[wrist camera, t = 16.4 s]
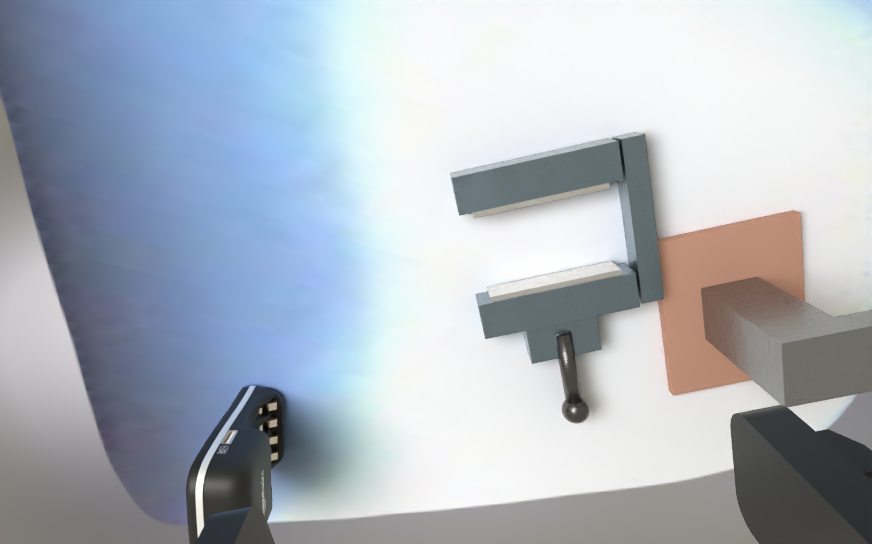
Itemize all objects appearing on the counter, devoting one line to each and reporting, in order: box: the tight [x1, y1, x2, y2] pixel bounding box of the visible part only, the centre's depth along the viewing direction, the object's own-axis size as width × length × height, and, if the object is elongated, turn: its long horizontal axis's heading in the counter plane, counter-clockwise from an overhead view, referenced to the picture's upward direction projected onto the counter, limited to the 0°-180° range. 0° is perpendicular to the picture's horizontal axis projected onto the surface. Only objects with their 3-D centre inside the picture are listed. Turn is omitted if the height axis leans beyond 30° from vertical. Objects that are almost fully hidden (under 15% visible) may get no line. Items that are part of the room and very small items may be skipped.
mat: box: [657, 210, 805, 395], centre depth 43 cm, size 12×10×1 cm
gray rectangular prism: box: [701, 277, 872, 407], centre depth 37 cm, size 4×7×10 cm, turn 102°
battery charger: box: [186, 386, 284, 544], centre depth 40 cm, size 7×4×11 cm, turn 177°
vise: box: [450, 132, 664, 423], centre depth 41 cm, size 20×13×3 cm, turn 12°
